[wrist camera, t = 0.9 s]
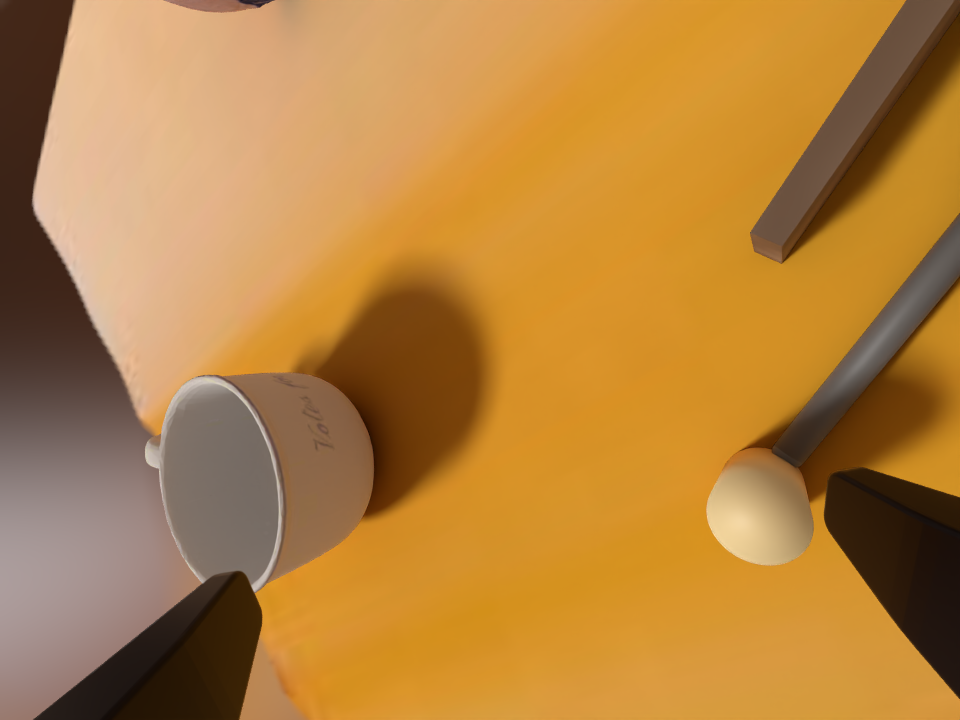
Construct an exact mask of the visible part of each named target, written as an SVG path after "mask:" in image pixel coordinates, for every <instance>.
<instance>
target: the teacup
mask: <svg viewBox="0 0 960 720" xmlns="http://www.w3.org/2000/svg"><path fill="white" fill-rule="evenodd" d="M145 454H146V455H145V458H146V461H147V463H148V464H149V465H150V466H153V467H155V468H159V474H160V486H161V492H162V501H163V504H164V508H165V513H166V518H167V521H168V525H169V527H170V529H171V533H172V535H173V537H174V538H175V542H176V544H177V546H178V549H179V551H180V553H181V554H182V557H183V558H184V559H185V561H186V563H187V565H188V566H189V567H190V569H191V570H192V571H193V573H194V574H195V575H196V576H197V578H198V579H199V580H200V581H201V582H202V583H204V582H205V581H206V580H207V579H209V578H210V577H211V576H213V575H215V574H219V573H225V572H231V571H242V572H244V573H245V574H246V576H247V577H248V580H249V582H250V584H251V586H252V589H253V591H254V593H256V592H257V591H259V590H260V589H261V588H263V587H264V586H265V585H266V584H267V583H269V582H271V581H273V580H275V579H277V578H279V577H281V576H283V575H285V574H287V573H289V572H291V571H293V570H295V569H297V568H299V567H300V566H302V565H304V564H306V563H308V562H310V561H312V560H314V559H315V558H317V557H319V556H321V555H322V554H324V553H326V552H327V551H329V550H331V549H332V548H334V547H335V546H337V545H338V544H339V543H341V542H342V541H343V540H344V539H345V538H346V537H348V536H349V534H350V533H351V532H352V531H353V530H354V529H355V528H356V526H357V525H358V524H359V522H360V520H361V519H362V517H363V515H364V513H365V511H366V509H367V506H368V504H369V500H370V497H371V493H372V488H373V479H374V457H373V448H372V444H371V440H370V436H369V434H368V431H367V429H366V426H365V424H364V422H363V420H362V418H361V416H360V414H359V413H358V411H357V409H356V408H355V406H354V405H353V404H352V402H351V401H350V400H349V399H348V398H347V397H346V396H345V395H344V394H343V393H342V392H341V391H340V390H339V389H338V388H336V387H335V386H333V385H332V384H330V383H328V382H326V381H325V380H323V379H321V378H318V377H315V376H311V375H307V374H300V373H260V374H244V375H234V376H223V377H222V376H219V375H203V376H198V377H195V378H193V379H191V380H189V381H187V382H186V383H185V384H184V385H183V386H182V387H181V388H180V389H179V390H178V391H177V393H176V394H175V396H174V397H173V399H172V401H171V403H170V405H169V407H168V410H167V412H166V415H165V419H164V423H163V427H162V433H161V434H160V435H157V436H154V437H152V438H151V439H150V440H148V442H147V444H146V448H145Z"/></svg>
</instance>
